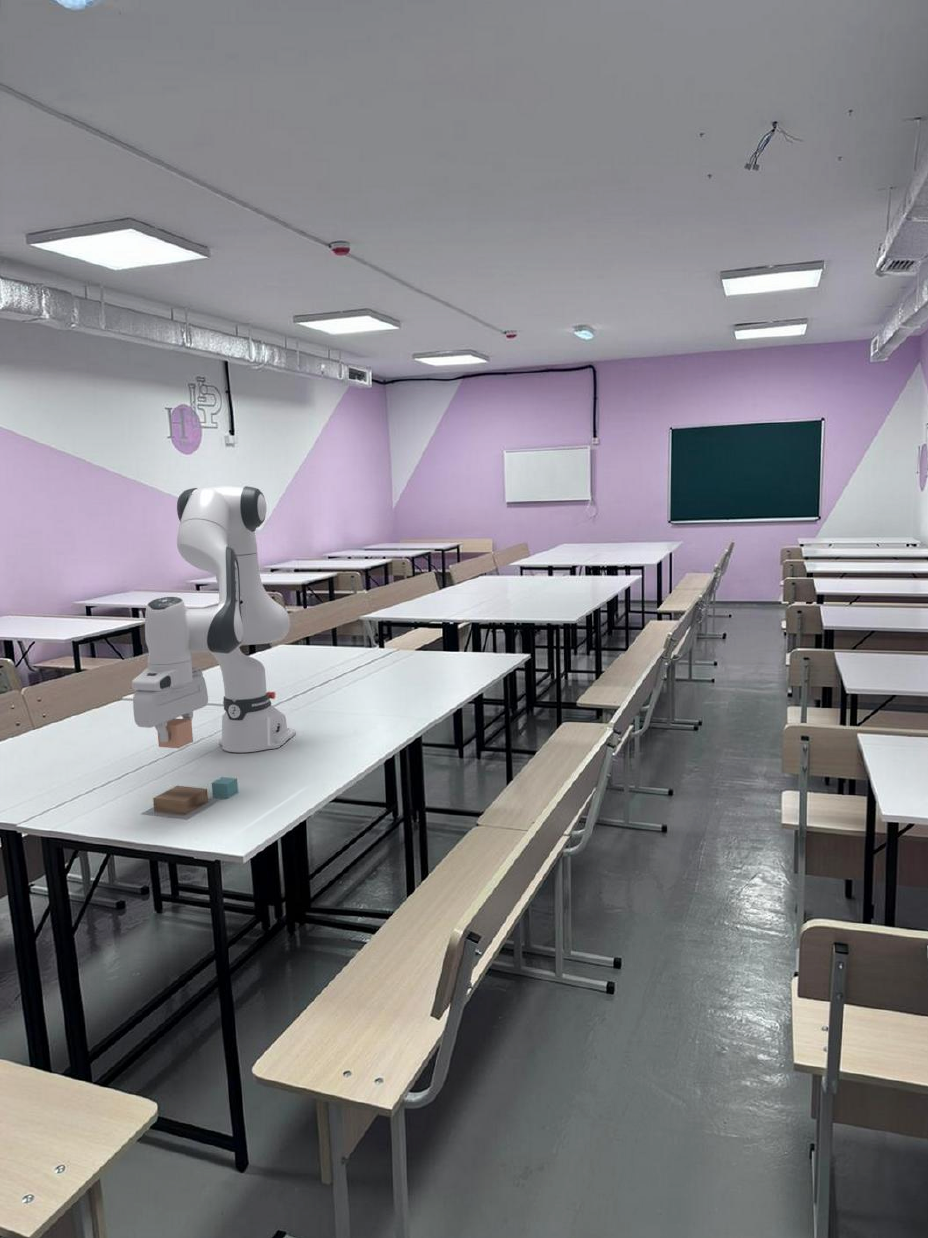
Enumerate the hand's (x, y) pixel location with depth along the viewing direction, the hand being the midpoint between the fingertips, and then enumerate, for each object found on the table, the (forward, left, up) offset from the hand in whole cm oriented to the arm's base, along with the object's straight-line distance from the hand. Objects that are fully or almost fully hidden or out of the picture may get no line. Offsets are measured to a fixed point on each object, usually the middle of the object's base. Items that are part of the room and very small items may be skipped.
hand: (175, 737), depth 181 cm
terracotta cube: (0, 0, -2) cm, 2 cm away
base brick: (0, 0, -16) cm, 16 cm away
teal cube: (-9, +5, -16) cm, 19 cm away
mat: (0, 0, -16) cm, 16 cm away
